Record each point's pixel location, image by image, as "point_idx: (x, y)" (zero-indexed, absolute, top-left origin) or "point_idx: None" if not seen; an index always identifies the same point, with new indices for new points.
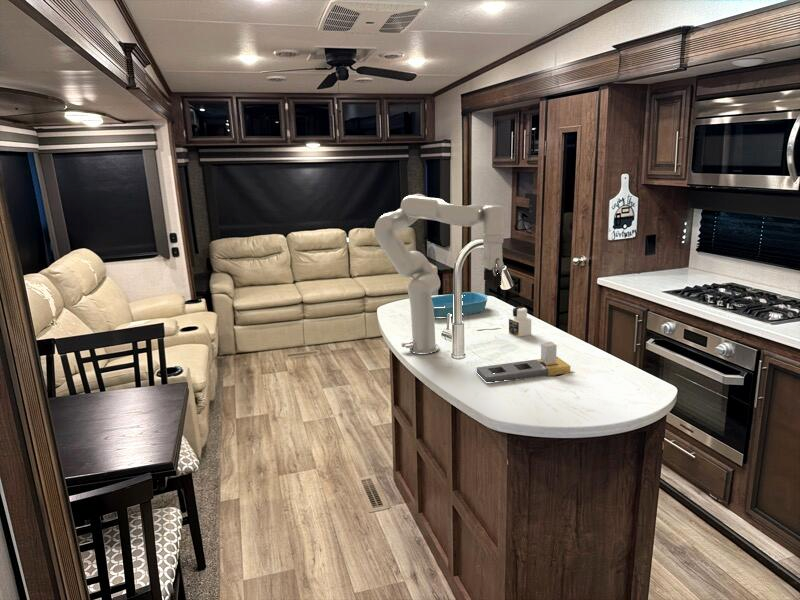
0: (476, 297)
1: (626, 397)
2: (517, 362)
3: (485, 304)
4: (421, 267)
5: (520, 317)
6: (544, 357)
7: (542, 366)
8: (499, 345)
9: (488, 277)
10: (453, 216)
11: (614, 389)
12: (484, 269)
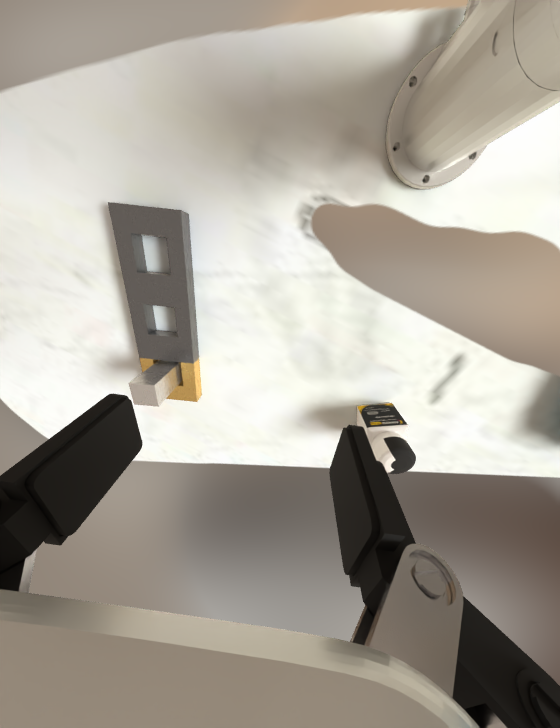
0: None
1: (50, 402)
2: (187, 322)
3: None
4: None
5: (376, 442)
6: (154, 369)
7: (153, 355)
8: (336, 351)
9: (341, 470)
10: None
11: (79, 404)
12: (424, 553)
